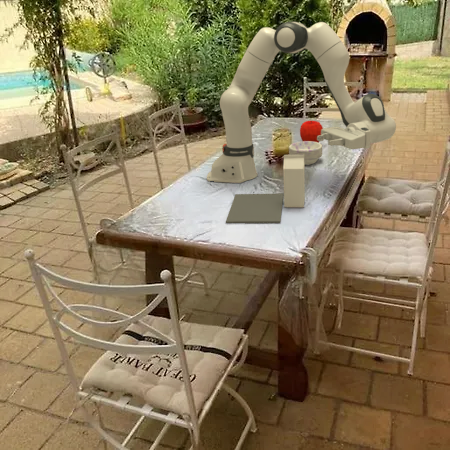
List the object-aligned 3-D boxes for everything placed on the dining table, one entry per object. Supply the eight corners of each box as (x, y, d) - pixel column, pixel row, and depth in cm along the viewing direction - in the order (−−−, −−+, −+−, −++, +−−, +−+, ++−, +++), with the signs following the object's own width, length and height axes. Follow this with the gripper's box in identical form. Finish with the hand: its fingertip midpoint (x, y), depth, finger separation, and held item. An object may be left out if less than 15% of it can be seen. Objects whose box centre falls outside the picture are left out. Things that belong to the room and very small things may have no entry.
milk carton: (303, 207, 175) (303, 157, 167) (284, 207, 177) (282, 158, 169) (304, 200, 181) (304, 151, 173) (285, 200, 183) (284, 152, 175)
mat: (225, 223, 168) (225, 221, 167) (235, 196, 191) (235, 194, 191) (280, 223, 165) (280, 221, 164) (283, 195, 188) (283, 193, 187)
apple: (328, 146, 244) (328, 120, 238) (311, 151, 238) (311, 124, 233) (311, 142, 253) (311, 116, 247) (295, 147, 247) (294, 121, 242)
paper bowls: (300, 169, 215) (300, 152, 212) (283, 161, 228) (282, 144, 224) (328, 162, 220) (329, 146, 217) (310, 155, 233) (310, 139, 229)
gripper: (340, 121, 185) (308, 126, 181) (373, 131, 168) (339, 138, 163) (339, 137, 188) (308, 143, 184) (372, 149, 170) (339, 156, 166)
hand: (323, 140), depth 173 cm, fingers open, 6 cm apart
